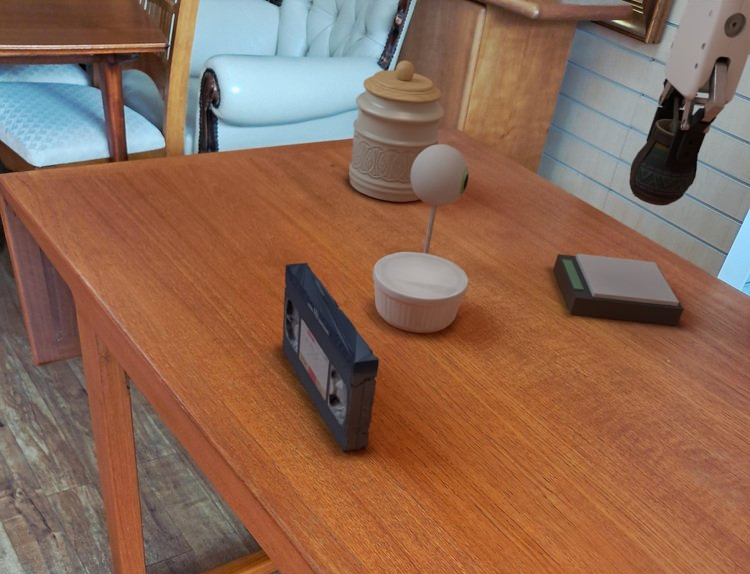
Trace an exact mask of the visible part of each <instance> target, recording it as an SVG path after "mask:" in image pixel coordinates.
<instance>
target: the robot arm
mask: <svg viewBox="0 0 750 574" xmlns="http://www.w3.org/2000/svg"><path fill="white" fill-rule="evenodd" d="M749 55H750V0H687V2H686V5H685V7H684V9H683V13H682V15H681V18H680V21H679V23H678V25H677V29H676V31H675V34H674V36H673V40H672V42H671V45H670V48H669V51H668V55H667V58H666V61H665V62H666V63H665V66H664V69H663V70H664V77H665V79H664V81H663V83H662V85H663V90H662V91H661V93H660V96H659V98H658V103H657V105H658V106H657V107H656V109H655V110H656V111H655V113H654V116H653V119H652V122H651V125H650V128H649V131H648V134H647V137H646V142H647V141H648V140H649V139H650V137H651V133H652V130H653V128H654V124H655V122H656V121H658V120H662V119H673V116H674V102H675V100H674V96H675V97H679V111H678V113H679V114H678V115H679V117H678V120H679V121H682V123H681V128H680V127H676V130H675V133H674V136H673V139H672V141H671V144H670V147H669V150H668V153H667V155H666V158H665V161H664V164H665V165H666V167H671V168H680V169H688V170H690V169H692V168H693V166H694V164H695V161H696V159H697V156H698V157H699V153H700V151H701V148H702V145H703V143H704V141H705V137H706V135H707V134H708V133H709V131H710V129H711V127H712V124H713V123H714V121H715V120H716V119H717V118H718V117H717V116H718V115H719V114H720V113H721V112H722V111H723V110H724V109H725V106H727V105H728V104H729V103H731V102H732V101H733V99H734V96H735V95H736V92H737V89H738V86H739V83H740V81H741V78H742V76H743V73H744V71H745V70H744V69H745V68H746V64H747V61H748V59H749ZM699 93H700V94H706V95H707V94H708V97H699V96H698V95H699ZM695 106H698V107H699V108H698V109H697V110H696V111H695V112H694V109H695ZM697 160H698V159H697Z"/></svg>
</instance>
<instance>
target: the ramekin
mask: <svg viewBox="0 0 750 574" xmlns="http://www.w3.org/2000/svg"><path fill="white" fill-rule="evenodd" d="M372 280H373V283H374V284H373V285H374V305H375V309H376V312H377V313H378V315H379V316H380V317H381V319H383V321H384V322H386V323H387V324H389V325H390V326H391V327H394V328H396V329H399V330H402V331H405V332H410V333H414V334H415V333H416V334H430V333H435V332H439V331H442V330H444V329H445V328H447V327H448V326H450V325H451V324H452V323H453V321H454V320H455V319H456V316H457V314H458V312H459V309H460V307H461V304H462V302H463V299H464V297H465V296H466V294H467V292H468V289H469V277H468V274H467V273H466V272H465V271H464V269H462V268H461V267H460V266H459V265H457V264H456V263H454V262H452V261H451V260H449V259H446V258H444V257H443V256H442V257H441V256H438V255H434V254H431V253H428V254H426V253H423V252H417V251H399V252H394V253H390V254H387V255H385V256H383V257H381V258H380V259H379V260H377V261H376V262H375V264H374V266H373V270H372Z"/></svg>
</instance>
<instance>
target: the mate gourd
mask: <svg viewBox="0 0 750 574" xmlns="http://www.w3.org/2000/svg"><path fill="white" fill-rule="evenodd" d="M674 100H675V102H674V116H673V119H662V120H658V121H656V122H655V124H654V128H653V130H652V133H651V137H650V139H649V140H648V141H646V143H645V144H644V145H643V147H641V149H640V150H639V151H638V152H637V153H636V155H635V156H634V159H633V160H632V162H631V166H630V172H629V181H628V183H629V186H630V187H629V188H630V191H631V192H632V194H631V195H633V197H635V198H637V199H638V200H640V201H642V202H644V203H647V204H649V205H654V206H669V205H671V204H673V203H675V202H677V201H679V200H681V198H682V197H684V196H685V193H686V192H687V191H688V190H689V188H690V187H691V186H692V185H693V184H694V182H695V180H696V176H697V171H698V158H699V155H698V156H697V159H696V161H695V164H694V166H693V168H692V169H690V170H688V169H680V168H671V167H666V165H665V164H664V161H665V158H666V155H667V153H668V150H669V147H670V144H671V141H672V139H673V136H674V133H675V130H676V127H680V128H681V123H682V121H679V120H678V117H679V115H678V114H679V113H678V111H679V97H675V96H674Z"/></svg>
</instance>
